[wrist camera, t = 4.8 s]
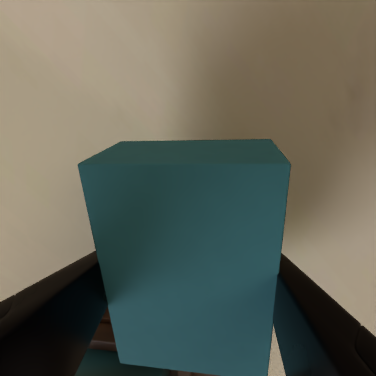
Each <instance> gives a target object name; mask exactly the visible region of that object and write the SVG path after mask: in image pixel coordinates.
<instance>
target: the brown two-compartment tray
mask: <svg viewBox="0 0 376 376" xmlns="http://www.w3.org/2000/svg"><path fill="white" fill-rule="evenodd" d="M75 376H220V375H212V374H204V373H196V372H187V371H179V370H171V369H163V368H155V367H147V366H139V365H131V364H123V363H120V361H119V356H118V352H117V347H116V342H115V338H114V333H113V328H112V323H111V319H110V314H109V309H108V306H107V309H106V311H105V313H104V315H103V317H102V319H101V322H100V324H99V326H98V328H97V330H96V332H95V334H94V336H93V338H92V340H91V343H90V345H89V347H88V349H87V351H86V353H85V355H84V357H83V359H82V361H81V364H80V366H79V368H78V370H77V372H76V374H75Z"/></svg>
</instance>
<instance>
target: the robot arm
mask: <svg viewBox="0 0 376 376" xmlns="http://www.w3.org/2000/svg"><path fill="white" fill-rule="evenodd" d="M107 306H108V302H107V297H106V292H105V288H104V283H103V278H102V273H101V269H100V264H99V262H98V258H97V253H96V251H94V252H92V253H90V254H88V255H87V256H85V257H83V258H81V259H79V260H77V261H76V262H74V263H72V264H70V265H68V266H66V267H64V268H63V269H61V270H59V271H57V272H55V273H53V274H52V275H50V276H48V277H46V278H44V279H42V280H40V281H39V282H37V283H35V284H33V285H31V286H29V287H28V288H26V289H24V290H22V291H20V292H18V293H17V294H16V295H13V296H11V297H9V298H7V299H5V300H3V301H2V302H0V376H75V374H76V372H77V370H78V368H79V366H80V364H81V361H82V359H83V357H84V355H85V353H86V351H87V349H88V347H89V345H90V343H91V340H92V338H93V336H94V334H95V332H96V330H97V328H98V326H99V324H100V322H101V319H102V317H103V315H104V313H105V311H106V309H107ZM273 324H274V329H275V333H276V337H277V341H278V345H279V349H280V353H281V357H282V361H283V365H284V370H285V374H286V376H376V337H375V336H374V335H373V334H372V333H371V332H370V331H368V330H367V329H366V328H365V327H364V326H361V324H360V323H359V322H358V321H357V320H356V319H355V318H354V317H353V316H352V315H350V314H349V313H348V312H347V311H346V310H345V309H344V308H343V307H341V306H340V305H339V304H338V303H337V302H336V301H335V300H334V299H333V298H331V297H330V296H329V295H328V294H327V293H326V292H325V291H324V290H322V289H321V288H320V287H319V286H318V285H317V284H316V283H315V282H314V281H312V280H311V279H310V278H309V277H308V276H307V275H306V274H305V273H304V272H302V271H301V270H300V269H299V268H298V267H297V266H296V265H295V264H293V263H292V262H291V261H290V260H289V259H288V258H287V257H286V256H285V255H283V254H282V253H281V258H280V267H279V273H278V275H277V283H276V292H275V301H274V311H273Z"/></svg>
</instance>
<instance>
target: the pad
mask: <svg viewBox="0 0 376 376" xmlns="http://www.w3.org/2000/svg"><path fill="white" fill-rule="evenodd" d="M290 168H291V164H290V162H289V161H288V160H287V159H286V157H285V156H284V155H283V154H282V152H281V151H280V150H279V149H278V147H277V146H276V145H275V144H274V143H273V141H272V140H271V139H250V140H186V141H122V142H119V143H117V144H115V145H113V146H111V147H109V148H108V149H106V150H104V151H102V152H100V153H98V154H96V155H94V156H92V157H90V158H88V159H86V160H84V161H83V162H81V163H79V164H78V169H79V173H80V178H81V183H82V187H83V192H84V197H85V202H86V206H87V211H88V216H89V220H90V225H91V230H92V234H93V239H94V244H95V248H96V253H97V258H98V262H99V264H100V269H101V273H102V278H103V283H104V288H105V292H106V297H107V302H108V309H109V314H110V319H111V323H112V328H113V333H114V338H115V342H116V347H117V352H118V356H119V361H120V363H123V364H131V365H139V366H147V367H155V368H163V369H171V370H179V371H187V372H196V373H204V374H212V375H220V376H268V367H269V358H270V349H271V340H272V331H273V311H274V301H275V292H276V283H277V275H278V273H279V267H280V258H281V249H282V240H283V231H284V222H285V213H286V204H287V195H288V186H289V177H290Z"/></svg>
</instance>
